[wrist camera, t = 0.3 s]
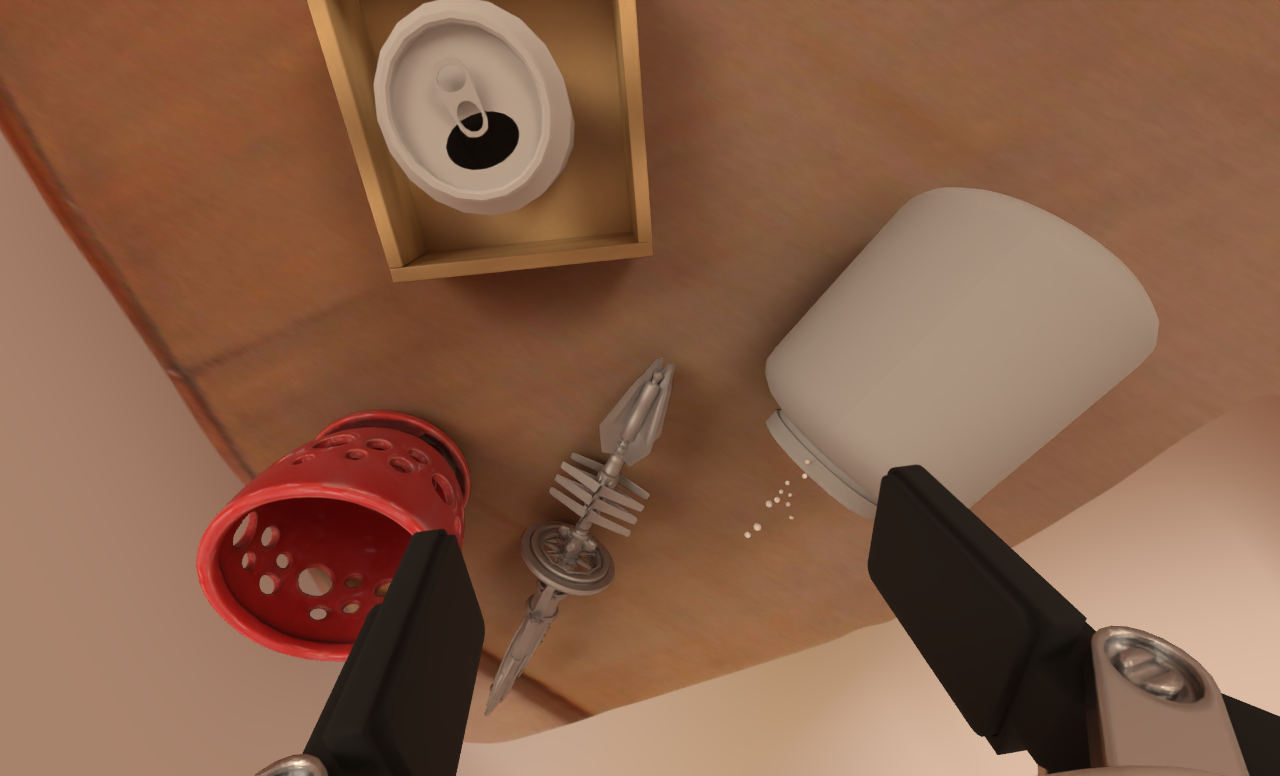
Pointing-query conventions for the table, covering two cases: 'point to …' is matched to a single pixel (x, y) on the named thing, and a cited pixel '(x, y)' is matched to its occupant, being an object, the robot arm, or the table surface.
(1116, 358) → the jar
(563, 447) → the table surface
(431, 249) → the wooden box
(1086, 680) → the robot arm
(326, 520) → the flower pot
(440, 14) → the can
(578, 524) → the spaceship
